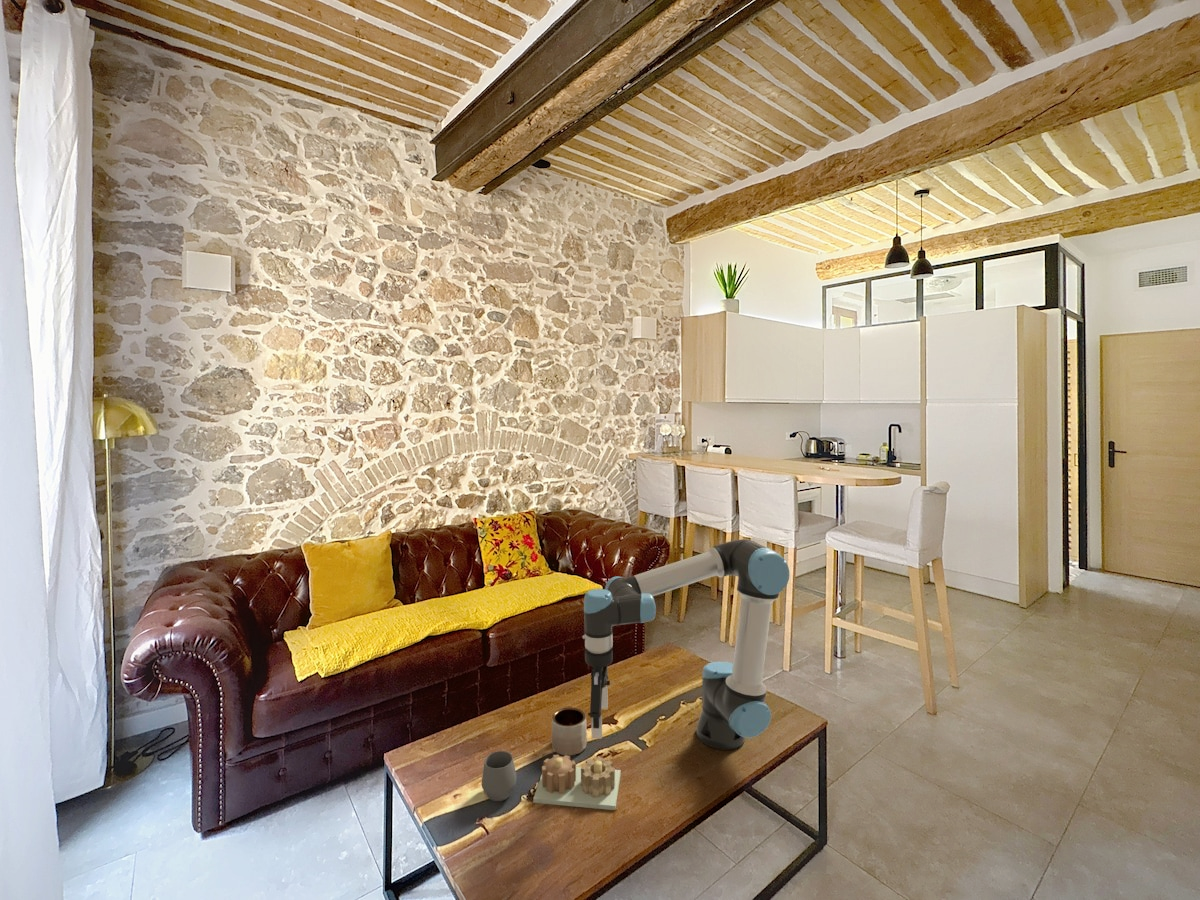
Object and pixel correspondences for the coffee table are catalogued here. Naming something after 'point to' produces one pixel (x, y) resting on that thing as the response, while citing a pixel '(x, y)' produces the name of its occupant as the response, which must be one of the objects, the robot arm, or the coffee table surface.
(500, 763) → the cup
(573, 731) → the planter
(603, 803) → the gear board
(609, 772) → the beech gear
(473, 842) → the coffee table surface
